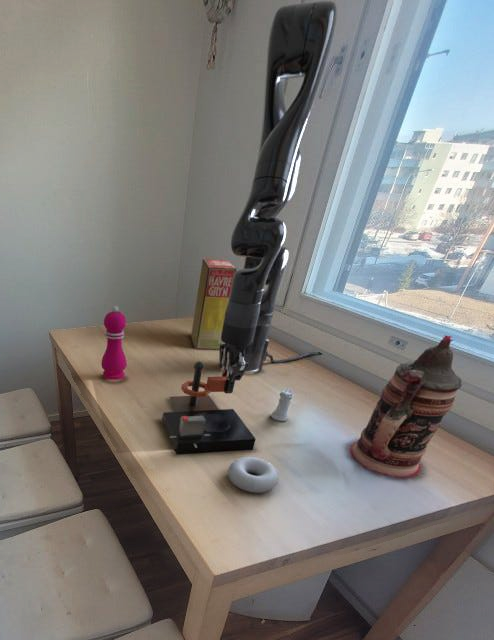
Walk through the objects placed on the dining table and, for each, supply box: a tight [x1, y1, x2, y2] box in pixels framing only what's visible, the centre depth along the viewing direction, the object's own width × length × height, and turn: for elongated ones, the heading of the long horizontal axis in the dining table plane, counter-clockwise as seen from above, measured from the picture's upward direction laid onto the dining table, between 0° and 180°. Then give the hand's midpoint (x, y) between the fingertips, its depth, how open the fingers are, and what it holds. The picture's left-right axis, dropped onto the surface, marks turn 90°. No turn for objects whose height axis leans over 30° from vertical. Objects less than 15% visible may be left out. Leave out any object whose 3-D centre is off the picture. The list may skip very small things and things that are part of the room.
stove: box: [161, 408, 257, 456], centre depth 96 cm, size 19×16×3 cm
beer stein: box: [349, 335, 463, 480], centre depth 85 cm, size 17×28×18 cm
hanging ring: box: [180, 375, 227, 397], centre depth 105 cm, size 13×7×3 cm, turn 99°
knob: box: [178, 416, 205, 439], centre depth 90 cm, size 5×2×5 cm, turn 99°
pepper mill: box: [100, 305, 128, 381], centre depth 115 cm, size 7×7×20 cm
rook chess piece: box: [270, 389, 295, 422], centre depth 102 cm, size 4×4×8 cm
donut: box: [227, 456, 280, 494], centre depth 84 cm, size 10×4×10 cm
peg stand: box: [169, 360, 220, 412], centre depth 105 cm, size 11×10×12 cm
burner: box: [194, 413, 230, 433], centre depth 97 cm, size 9×9×1 cm
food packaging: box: [190, 258, 238, 350], centre depth 138 cm, size 13×9×25 cm
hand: (225, 390), depth 107 cm, fingers closed on hanging ring, 2 cm apart
